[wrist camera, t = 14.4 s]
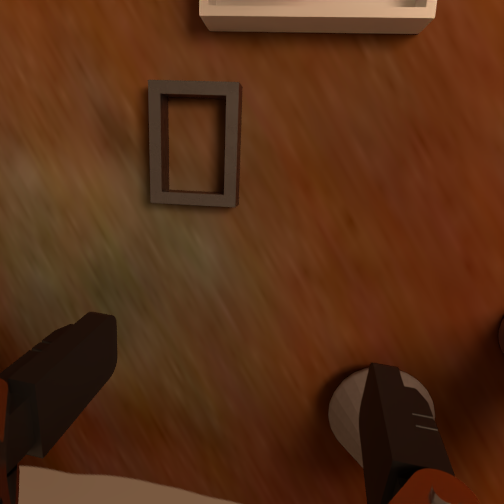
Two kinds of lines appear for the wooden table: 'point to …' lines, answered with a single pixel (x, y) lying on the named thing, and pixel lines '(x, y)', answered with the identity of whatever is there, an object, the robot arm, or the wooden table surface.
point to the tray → (318, 15)
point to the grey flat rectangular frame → (160, 140)
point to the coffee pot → (358, 409)
